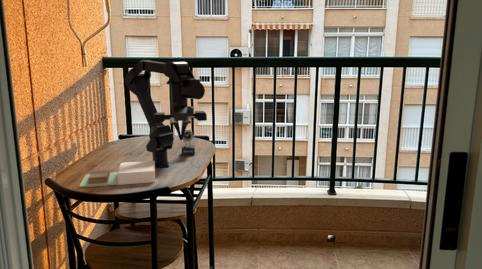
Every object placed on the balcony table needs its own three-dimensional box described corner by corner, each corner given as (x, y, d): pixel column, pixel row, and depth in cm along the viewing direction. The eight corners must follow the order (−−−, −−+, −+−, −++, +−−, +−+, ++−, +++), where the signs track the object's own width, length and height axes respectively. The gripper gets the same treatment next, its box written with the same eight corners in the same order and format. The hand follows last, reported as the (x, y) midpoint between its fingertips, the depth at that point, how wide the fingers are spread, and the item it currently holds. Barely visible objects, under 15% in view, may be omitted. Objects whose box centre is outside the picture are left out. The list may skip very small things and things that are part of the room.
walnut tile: (109, 169, 144) (110, 174, 144) (92, 170, 143) (92, 175, 143) (107, 176, 135) (107, 182, 136) (88, 178, 134) (88, 183, 135)
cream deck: (121, 173, 147) (121, 162, 147) (155, 170, 150) (154, 160, 149) (118, 184, 135) (117, 173, 134) (154, 182, 137) (154, 170, 136)
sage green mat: (86, 175, 145) (85, 174, 145) (121, 173, 147) (121, 171, 147) (79, 187, 133) (79, 186, 132) (118, 184, 135) (118, 183, 135)
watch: (181, 156, 169) (180, 131, 167) (182, 151, 177) (181, 127, 175) (194, 156, 170) (194, 130, 168) (195, 151, 178) (194, 127, 175)
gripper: (152, 101, 133) (154, 146, 137) (208, 99, 137) (209, 143, 140) (152, 97, 144) (155, 139, 147) (204, 95, 148) (205, 136, 151)
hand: (181, 140), depth 146 cm, fingers closed
